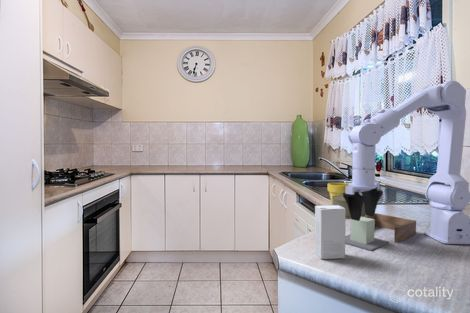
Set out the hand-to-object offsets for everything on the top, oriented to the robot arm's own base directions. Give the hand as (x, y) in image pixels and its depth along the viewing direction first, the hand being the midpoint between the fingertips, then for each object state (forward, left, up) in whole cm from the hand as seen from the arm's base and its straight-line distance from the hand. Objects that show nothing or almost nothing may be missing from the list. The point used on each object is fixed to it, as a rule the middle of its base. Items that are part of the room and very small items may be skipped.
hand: (362, 217), depth 80 cm
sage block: (0, 0, -6) cm, 6 cm away
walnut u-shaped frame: (+9, -10, -7) cm, 15 cm away
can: (+31, -6, -7) cm, 32 cm away
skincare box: (-11, +12, -7) cm, 18 cm away
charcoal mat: (0, 0, -7) cm, 7 cm away
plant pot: (+48, -8, -7) cm, 50 cm away
